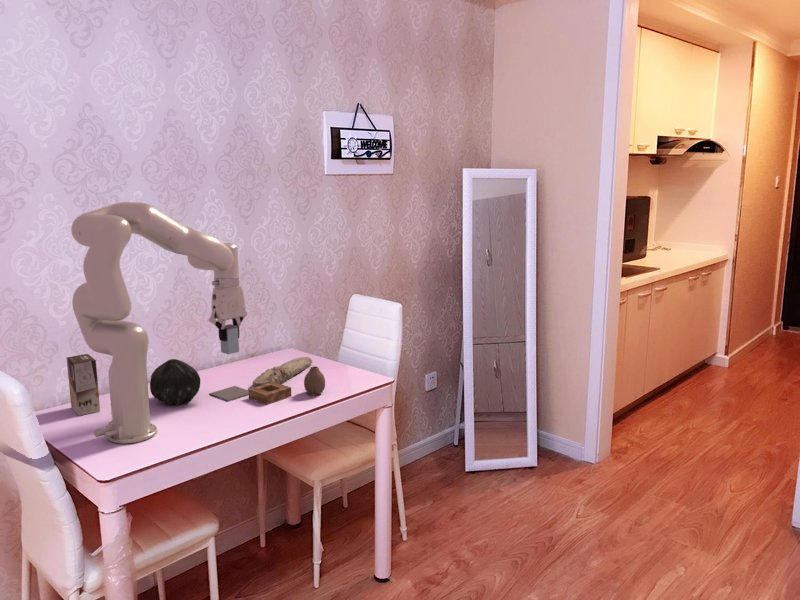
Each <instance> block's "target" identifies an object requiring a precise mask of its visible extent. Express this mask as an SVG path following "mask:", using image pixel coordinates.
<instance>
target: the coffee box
mask: <svg viewBox="0 0 800 600" xmlns="http://www.w3.org/2000/svg"><path fill="white" fill-rule="evenodd" d="M66 366H67V376H68V377H67V378H68V388H69V397H70V406H71V410H72V411H74V412H75V414H77V416H79V417H80V416H84V415H89V414H94V413H99V412H100V411H101V407H100V405H101V404H100V393H99V391H100V390H99V383H98V382H99V381H98V369H97V360H96V359H95V358H94V357H92V356H91V355H90V354H88V353H85V354H78V355H72V356H68V357H66Z"/></svg>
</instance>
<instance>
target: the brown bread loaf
mask: <svg viewBox="0 0 800 600" xmlns="http://www.w3.org/2000/svg"><path fill="white" fill-rule="evenodd" d="M312 364H313V360H312V359H311V357H310V356H302V357H296V358H293V359H291V360H288V361H287V362H284V363H282V364H281V365H279V366H273V367H272V368H268V369H266V370H265V371H263V372H262V373H260V375H258V376H257V377H256V378H255V379H254V380H253V381H252V388H254V387H257V386H261V385H264V384H267V383H270V382H275V383H279V384H285V383H286V382H287V381H288V380H290V379H292V378H293V377H294V376H295V375H297V374H300V372H302V371H304V370H307V369H308V368H309V367H310V366H311V365H312ZM311 367H312V366H311Z"/></svg>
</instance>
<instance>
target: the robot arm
mask: <svg viewBox="0 0 800 600" xmlns="http://www.w3.org/2000/svg"><path fill="white" fill-rule="evenodd" d="M70 231H71V236H72V237H73V239H74V240H75V242H77V243H78V244H79V245H81V246H84V247H88V250H87V252H86V254H85V256H84V260H83V263H82V269H83V275H84V278H85V282H84V283H82V284H80V285H79V286H78V287H77V288H76V289H75V291H74V293H73V295H72V300H71V301H72V309H73V313H74V316H75V319H76V321H77V324H78V326H79V328H80V332H81V334H82V336H83V340H84V341H85V343H86V345H87V347H89V348H90V349H91V350H92V351H94V352H96V353H100V354H104V355H109V356H112V360H111V363H110V366H109V368H108V386H109V399H110V411H111V420H110V421H108V425H106V426H105V427H103V428H100V429H99V428H98V429H95V430H94V431H93V432H94V436H95V438H99V437H103V436H104V438H107V440H108V441H109V442H112V443H115V444H123V445H125V444H134V443H140V442H143V441H145V440H149V439H151V438H153V437H154V436H156V434H158V428H157V425H155V423H154V424H153V423H151V413H150V412H151V411H150V400H149V398H150V396H149V386H148V385H149V384H148V369H147V368H148V367H147V357H148V350H149V349H148V348H149V335H148V332H147V331H146V330H145V328H144V327H142V326H141V325H140V324H138V323H136V322H132V321H126V320H125V319H127V317H129V316H130V314H131V312H132V302H131V298H130V295H129V291H128V289H127V286H126V283H125V279H124V277H123V274H122V271H121V269H122V268H121V261H120V260H121V257H122V254H123V252H124V250H125V249H126V247H127V245H128V244H129V242H130V240H131V237H132V234H133V235H138V236H140V237H142V238H144V239H146V240H147V241H150V242H151V243H153V244H154V245H157V246H158V247H160V248H162V249H164V250H165V251H167V252H171V253H173V254H177V255H183V256H187V262H188V263H189V265H190V266H191V267H193V268H194V269H197V270H201V271H202V270H203V271H213V281H211V285H212V286H214V287H213V288H212V293H211V314H210V316H209V318H208V322H209V323H210V324H213V325H214V326H215V327H216V328H217V329H218V339H219V341H220V340H221V341H227V330H226V329H225V325H226V322H227V321H229V320H231V323H232V325H236V326H238V339H240V326H241V325H242V322H243V320H244V319H245V317H246V316H247V315H248V312H247V311H246V301H245V295H244V294H245V293H244V291H243V290H244V289H243V287H242V285H240V277H239V276H240V274H239V273H240V272H239V252H238V251H239V250H238V246H237V244H236V243H232V242H230V243H229V242H221V241H220V240H218V239H216V238H215V237H213V236H210V235H208V234H205V233H204V232H200V231H198V230H197V229H194V228H192V227H189V226H186V225H184V224H182V223H180V222H178V221H177V220H176V219H174V218H173V217H171V216H169V215H167V214H166V213H164V212H163V211H162V210H161V209H158V208H157V207H155V206H153V205H151V204H150V203H147V202H134V201H133V202H132V201H131V202H129V201H123V202H118V203H114V204H110V205H107V206H104V207H101V208H98V209H95V210H90V211H88V212H84V213H82V214H80V215H79V216H77V217H75V219H74V220H73V222H72V224H71V229H70ZM221 341H220V342H221Z"/></svg>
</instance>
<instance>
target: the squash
mask: <svg viewBox="0 0 800 600" xmlns="http://www.w3.org/2000/svg"><path fill="white" fill-rule="evenodd" d="M149 380H150V381H149V389H150V394H151V395H152V396H153V398H154V399H156V400H158V401H159V402H160V403H161V402H162V403H164V404H166V405H167V406H172V405H174V404H175V405H181V404H182V403H188V402H191V401H192V400H193V399H194V398H195V396H197V395H198V393H199V391H200V388H201V377H200V374H199V373H198V371H197V370H196V369H195V368H194V367H193V366H191V365H190V364H188V363H186V362H184V361H182V360H180V359H176V358H171V359H168V360H166V361H165V362H163V363H161V364H160V365H159V366H157V368H155V369H154V370H153V372H152V374H151V376H150V379H149Z"/></svg>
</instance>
